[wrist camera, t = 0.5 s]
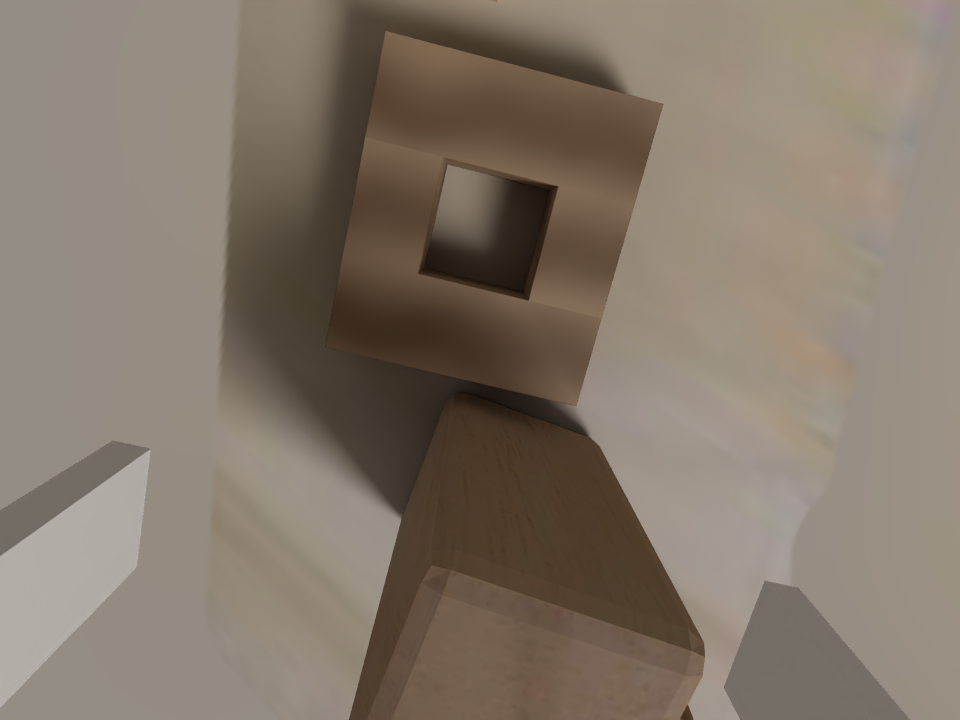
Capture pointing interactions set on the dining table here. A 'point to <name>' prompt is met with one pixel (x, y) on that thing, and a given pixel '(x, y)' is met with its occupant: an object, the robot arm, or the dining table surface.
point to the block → (524, 587)
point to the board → (502, 153)
